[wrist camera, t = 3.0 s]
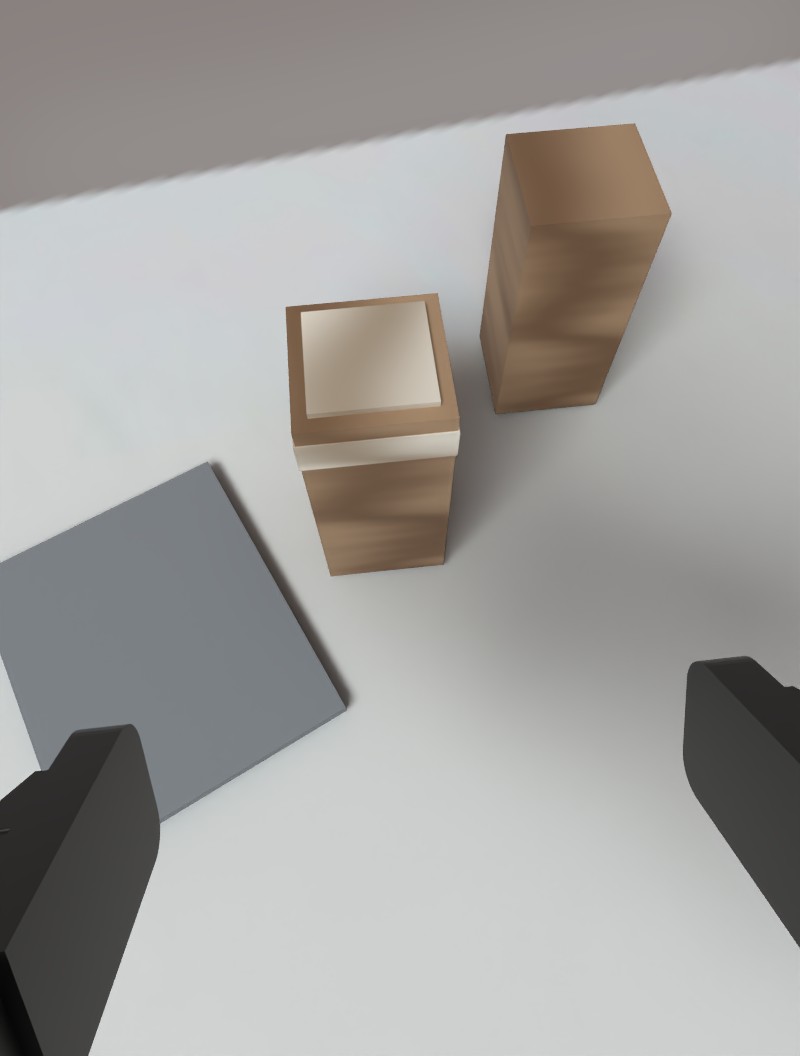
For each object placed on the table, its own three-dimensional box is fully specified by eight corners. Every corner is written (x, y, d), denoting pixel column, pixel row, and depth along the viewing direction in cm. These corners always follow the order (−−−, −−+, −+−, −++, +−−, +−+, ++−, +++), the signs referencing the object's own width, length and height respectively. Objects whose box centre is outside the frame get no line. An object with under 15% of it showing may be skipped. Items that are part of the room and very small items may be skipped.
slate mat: (210, 467, 29) (207, 461, 29) (346, 710, 25) (345, 707, 24) (-20, 581, 27) (-27, 576, 27) (82, 869, 23) (76, 870, 22)
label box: (430, 467, 29) (439, 286, 20) (444, 565, 27) (462, 415, 18) (322, 477, 29) (282, 300, 20) (329, 577, 27) (288, 431, 18)
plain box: (573, 327, 33) (635, 123, 24) (595, 404, 31) (671, 213, 22) (479, 336, 32) (506, 134, 23) (495, 414, 30) (530, 225, 21)
